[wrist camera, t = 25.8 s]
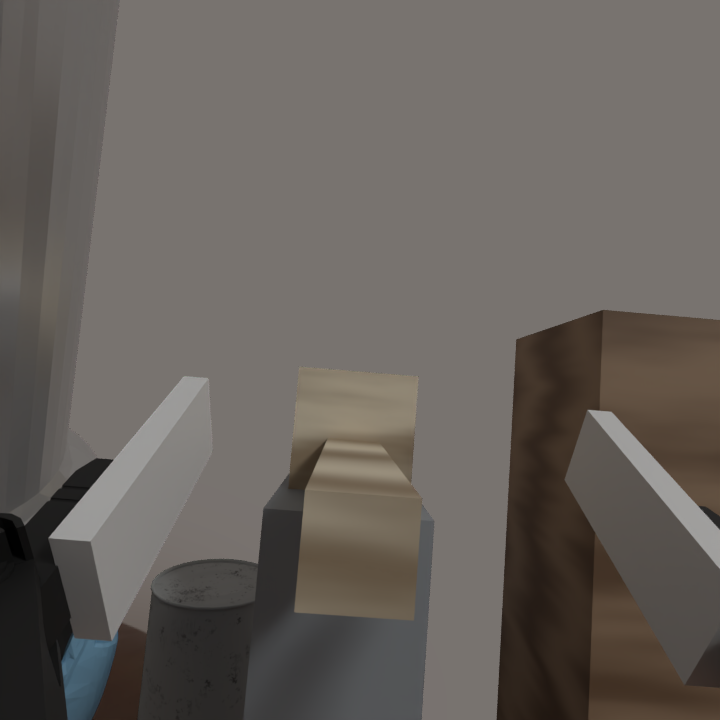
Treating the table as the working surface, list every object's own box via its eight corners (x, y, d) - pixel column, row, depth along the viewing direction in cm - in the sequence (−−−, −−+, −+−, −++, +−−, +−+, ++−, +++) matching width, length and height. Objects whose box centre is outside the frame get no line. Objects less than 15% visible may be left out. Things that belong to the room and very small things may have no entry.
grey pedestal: (400, 1045, 20) (434, 520, 22) (213, 1037, 20) (263, 508, 21) (381, 828, 30) (406, 482, 32) (257, 821, 30) (289, 473, 31)
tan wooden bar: (493, 626, 12) (508, 350, 12) (213, 607, 11) (242, 327, 12) (399, 482, 32) (407, 379, 32) (297, 474, 31) (306, 371, 32)
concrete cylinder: (131, 718, 38) (149, 563, 39) (248, 694, 42) (261, 555, 43) (130, 817, 29) (153, 615, 30) (277, 775, 33) (293, 598, 34)
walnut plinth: (783, 1174, 17) (785, 325, 20) (572, 1166, 17) (602, 310, 20) (622, 889, 27) (638, 349, 30) (488, 882, 27) (516, 339, 30)
